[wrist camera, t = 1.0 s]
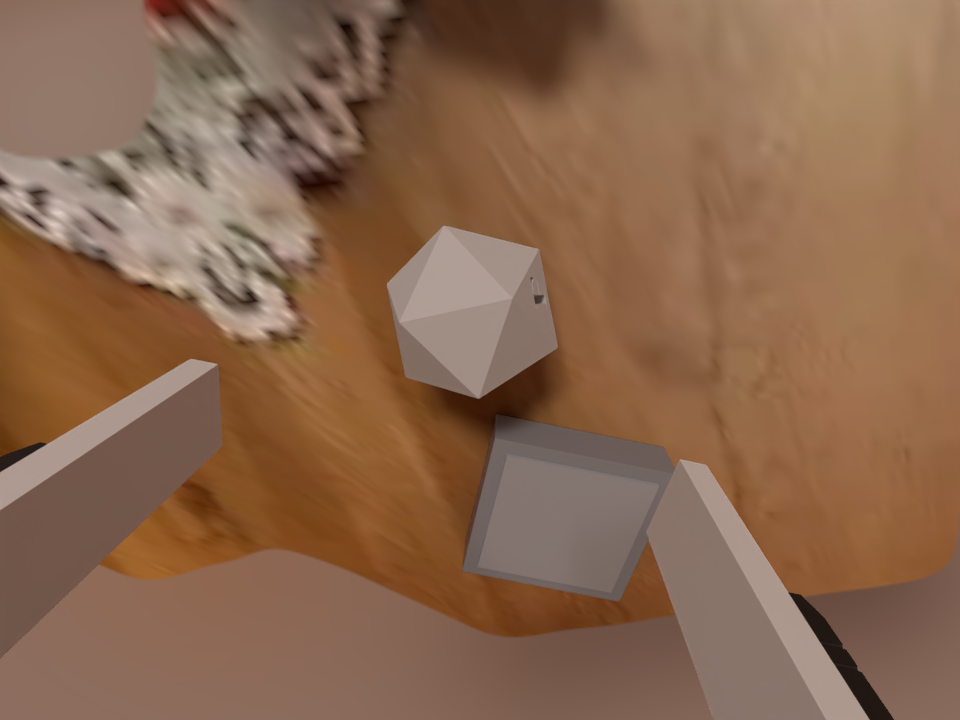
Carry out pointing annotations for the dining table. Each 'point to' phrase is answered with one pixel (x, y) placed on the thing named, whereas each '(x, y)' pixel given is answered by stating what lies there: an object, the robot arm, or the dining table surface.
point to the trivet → (564, 507)
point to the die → (471, 312)
